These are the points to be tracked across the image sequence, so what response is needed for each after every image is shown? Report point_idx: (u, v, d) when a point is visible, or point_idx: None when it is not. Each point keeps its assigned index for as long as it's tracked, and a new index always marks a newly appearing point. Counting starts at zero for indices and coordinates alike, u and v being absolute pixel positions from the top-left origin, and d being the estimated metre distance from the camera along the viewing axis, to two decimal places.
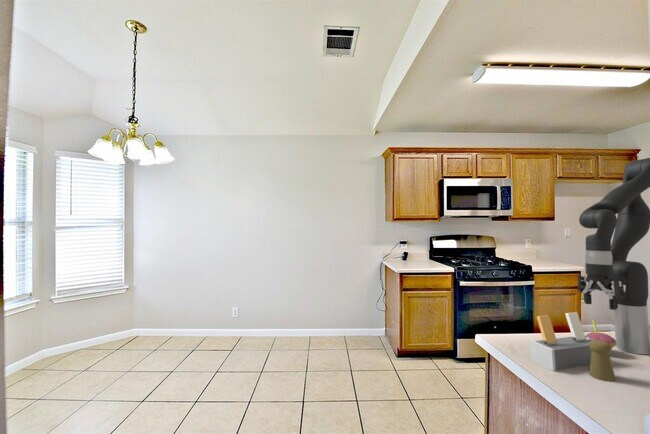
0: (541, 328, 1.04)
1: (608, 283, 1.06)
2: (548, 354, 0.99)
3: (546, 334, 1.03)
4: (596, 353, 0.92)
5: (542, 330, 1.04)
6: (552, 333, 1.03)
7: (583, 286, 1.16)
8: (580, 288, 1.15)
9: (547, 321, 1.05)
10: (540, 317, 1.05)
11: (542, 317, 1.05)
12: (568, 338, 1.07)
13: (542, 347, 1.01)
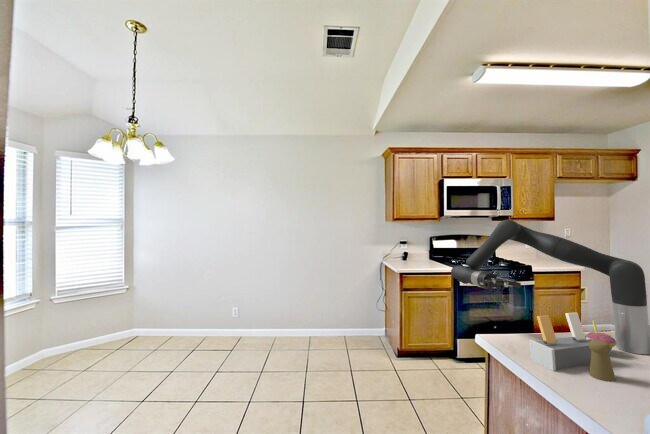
0: (541, 328, 1.04)
1: None
2: (548, 354, 0.99)
3: (546, 334, 1.03)
4: (596, 353, 0.92)
5: (542, 330, 1.04)
6: (552, 333, 1.03)
7: None
8: None
9: (547, 321, 1.05)
10: (540, 317, 1.05)
11: (542, 317, 1.05)
12: (568, 338, 1.07)
13: (542, 347, 1.01)
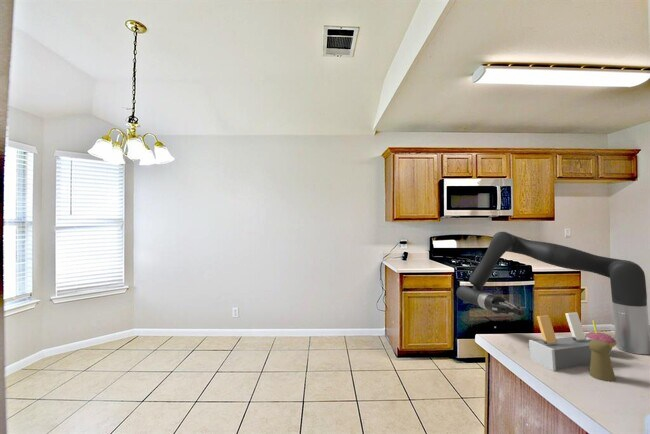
0: (541, 328, 1.04)
1: None
2: (548, 354, 0.99)
3: (546, 334, 1.03)
4: (596, 353, 0.92)
5: (542, 330, 1.04)
6: (552, 333, 1.03)
7: None
8: None
9: (547, 321, 1.05)
10: (540, 317, 1.05)
11: (542, 317, 1.05)
12: (568, 338, 1.07)
13: (542, 347, 1.01)
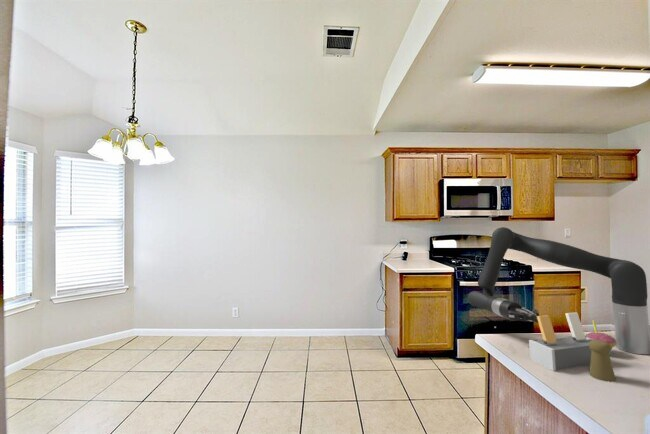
0: (541, 328, 1.04)
1: None
2: (548, 354, 0.99)
3: (546, 334, 1.03)
4: (596, 353, 0.92)
5: (542, 330, 1.04)
6: (552, 333, 1.03)
7: None
8: None
9: (547, 321, 1.05)
10: (540, 317, 1.05)
11: (542, 317, 1.05)
12: (568, 338, 1.07)
13: (542, 347, 1.01)
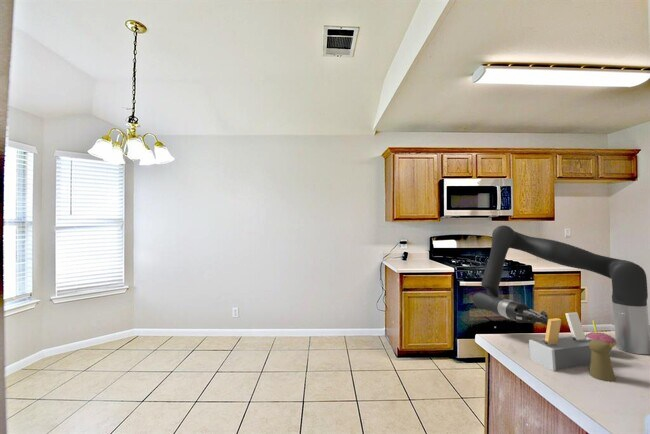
0: (548, 330, 1.02)
1: None
2: (548, 354, 0.99)
3: (550, 336, 1.01)
4: (596, 353, 0.92)
5: (548, 332, 1.02)
6: (556, 335, 1.02)
7: None
8: None
9: (557, 325, 1.01)
10: (551, 321, 1.00)
11: (553, 321, 1.00)
12: (568, 338, 1.07)
13: (542, 347, 1.01)
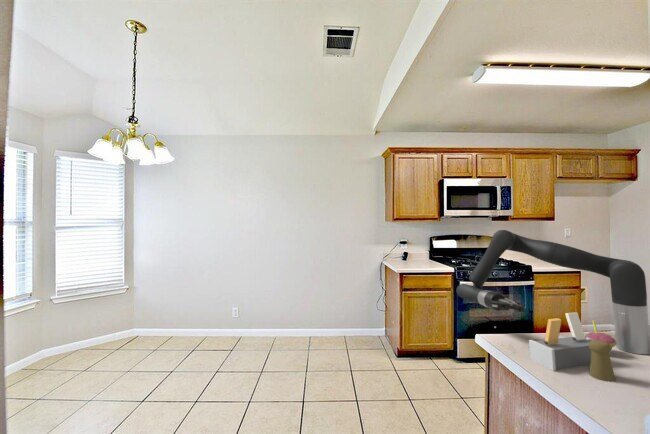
0: (548, 330, 1.02)
1: None
2: (548, 354, 0.99)
3: (550, 336, 1.01)
4: (596, 353, 0.92)
5: (548, 332, 1.01)
6: (556, 335, 1.02)
7: None
8: None
9: (557, 325, 1.01)
10: (551, 322, 1.00)
11: (553, 321, 1.00)
12: (568, 338, 1.07)
13: (542, 347, 1.01)
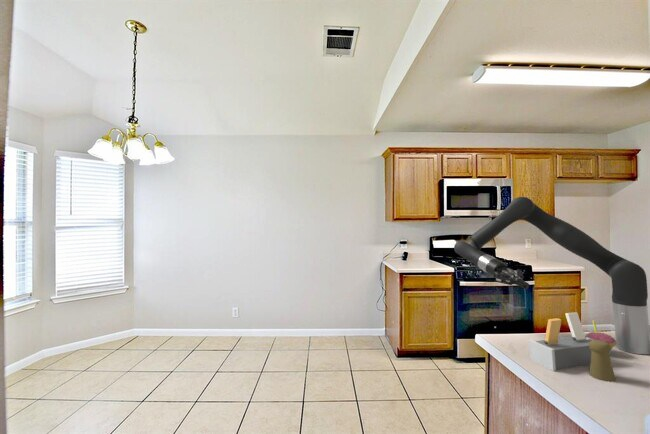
0: (548, 330, 1.02)
1: None
2: (548, 354, 0.99)
3: (550, 336, 1.01)
4: (596, 353, 0.92)
5: (548, 332, 1.01)
6: (556, 335, 1.02)
7: None
8: None
9: (557, 325, 1.01)
10: (551, 322, 1.00)
11: (553, 321, 1.00)
12: (568, 338, 1.07)
13: (542, 347, 1.01)
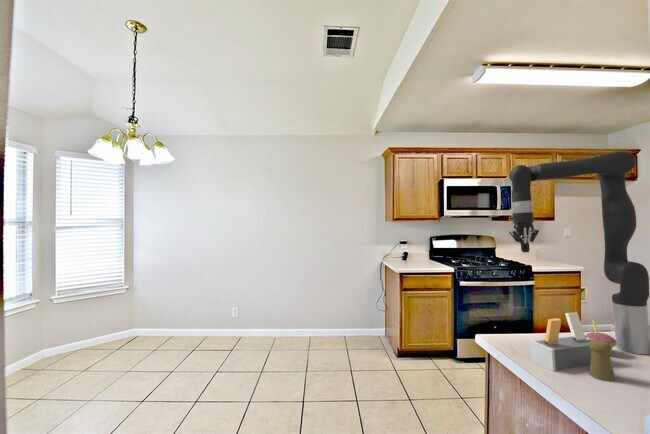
0: (548, 330, 1.02)
1: None
2: (548, 354, 0.99)
3: (550, 336, 1.01)
4: (596, 353, 0.92)
5: (548, 332, 1.01)
6: (556, 335, 1.02)
7: None
8: None
9: (557, 325, 1.01)
10: (551, 322, 1.00)
11: (553, 321, 1.00)
12: (568, 338, 1.07)
13: (542, 347, 1.01)
